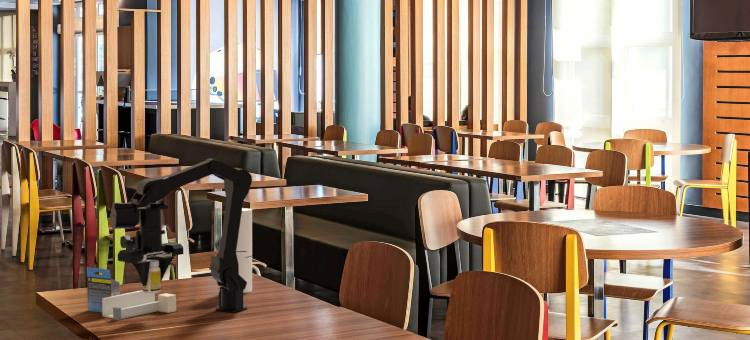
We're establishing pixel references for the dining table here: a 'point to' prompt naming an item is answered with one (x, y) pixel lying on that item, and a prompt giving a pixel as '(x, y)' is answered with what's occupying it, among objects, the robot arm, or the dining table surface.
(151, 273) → the supplement bottle
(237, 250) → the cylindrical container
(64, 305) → the dining table surface
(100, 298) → the label tape cartridge
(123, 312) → the white bracket
